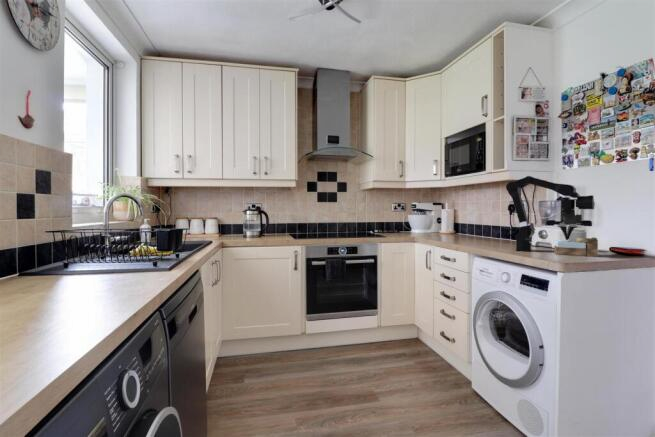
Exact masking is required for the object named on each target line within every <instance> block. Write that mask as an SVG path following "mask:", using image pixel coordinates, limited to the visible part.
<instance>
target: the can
mask: <svg viewBox="0 0 655 437" xmlns="http://www.w3.org/2000/svg"><path fill="white" fill-rule="evenodd" d="M585 230H586V229H578V228H576V229H575V228H574V229H573V231H572V232H571V235H570V237H569V239H568V241H571V242H576V238H587V231H585ZM583 243H584V242H583Z"/></svg>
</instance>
